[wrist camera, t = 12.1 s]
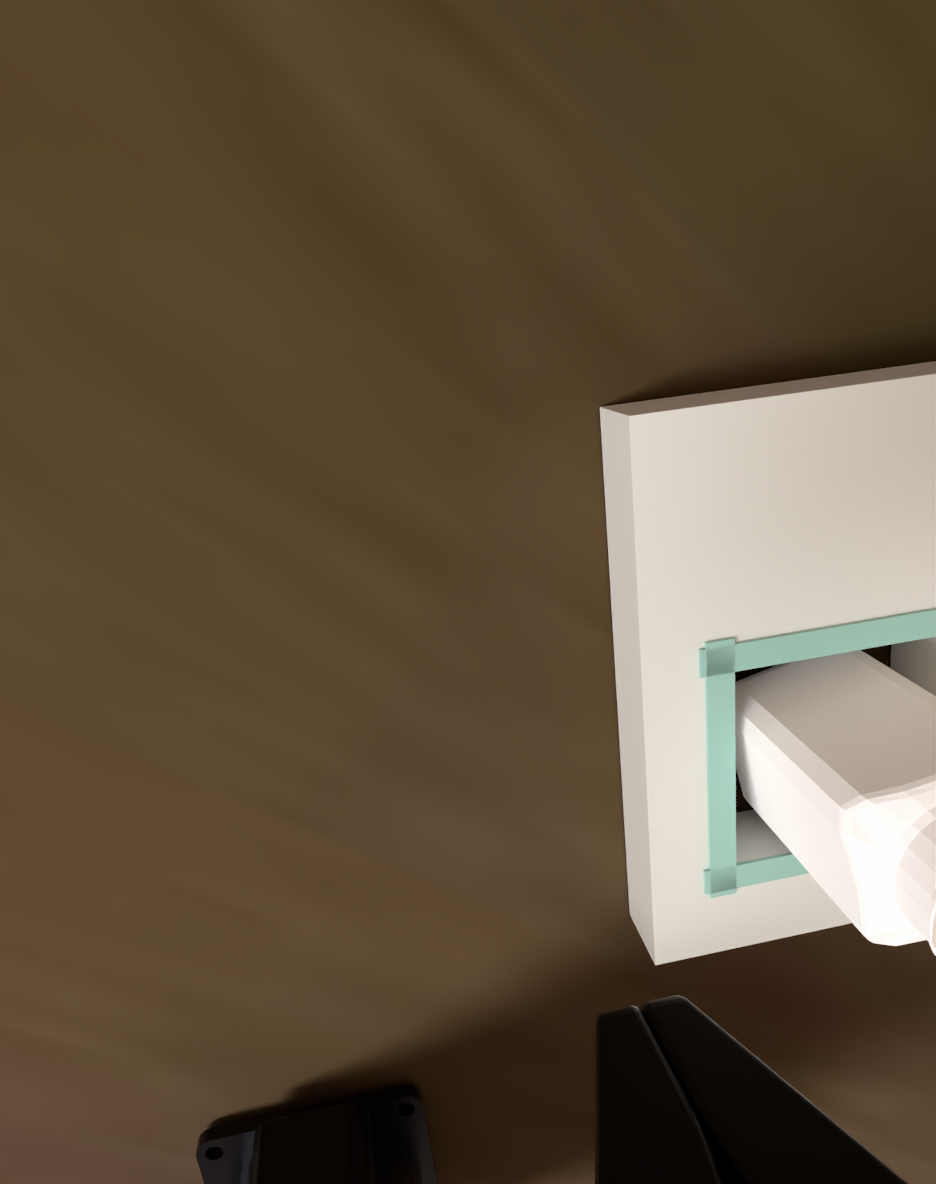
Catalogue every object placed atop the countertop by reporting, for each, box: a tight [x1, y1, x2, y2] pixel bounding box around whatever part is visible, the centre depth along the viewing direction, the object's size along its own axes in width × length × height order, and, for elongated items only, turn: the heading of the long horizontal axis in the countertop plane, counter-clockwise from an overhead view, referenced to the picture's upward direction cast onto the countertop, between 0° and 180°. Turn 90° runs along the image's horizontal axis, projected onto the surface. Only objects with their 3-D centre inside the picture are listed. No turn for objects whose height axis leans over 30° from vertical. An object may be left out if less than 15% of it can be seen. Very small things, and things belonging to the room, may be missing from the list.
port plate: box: [600, 361, 936, 965], centre depth 21 cm, size 14×10×2 cm
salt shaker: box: [735, 650, 936, 956], centre depth 18 cm, size 4×4×10 cm
